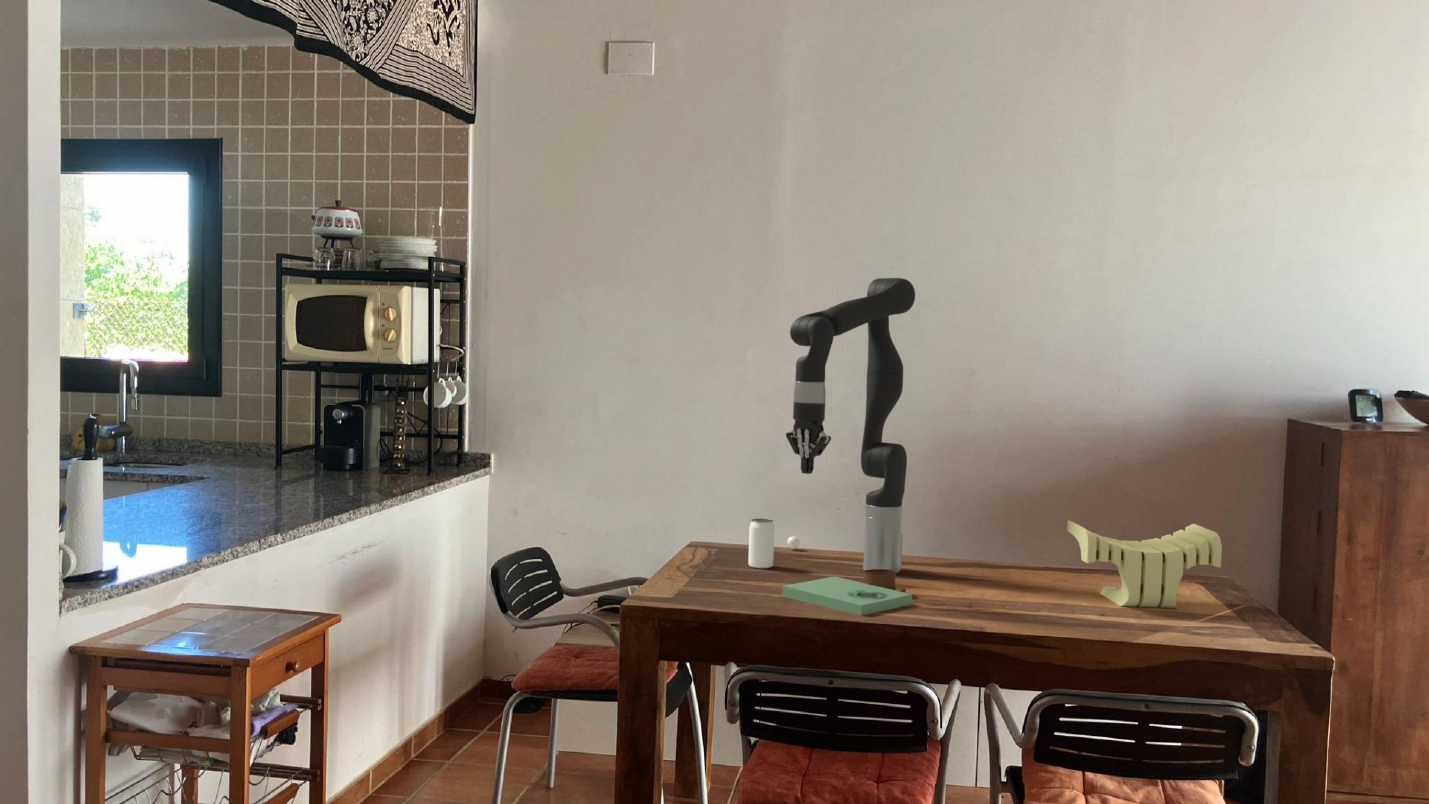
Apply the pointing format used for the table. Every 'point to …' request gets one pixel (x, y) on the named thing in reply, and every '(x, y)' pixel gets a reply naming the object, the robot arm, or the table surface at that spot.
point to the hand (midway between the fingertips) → (806, 473)
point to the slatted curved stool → (1150, 562)
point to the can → (761, 543)
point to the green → (847, 595)
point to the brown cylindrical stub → (881, 579)
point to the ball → (793, 542)
